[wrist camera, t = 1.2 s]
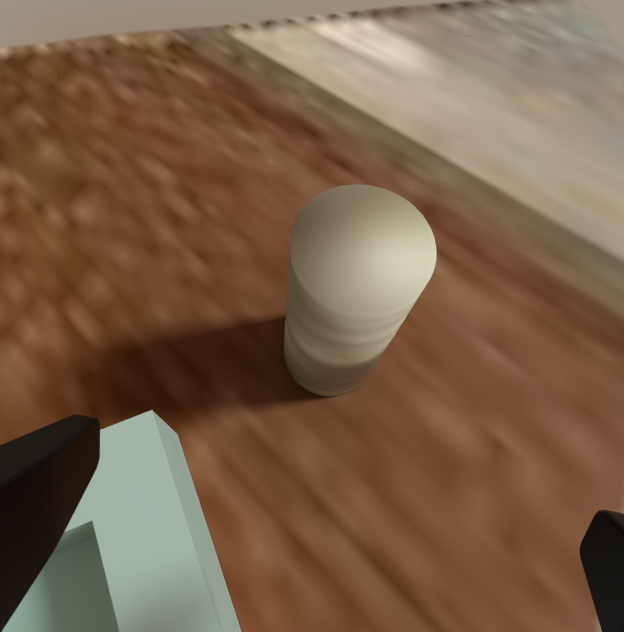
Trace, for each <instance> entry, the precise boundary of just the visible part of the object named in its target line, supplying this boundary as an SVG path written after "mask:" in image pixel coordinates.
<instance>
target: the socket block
mask: <svg viewBox="0 0 624 632" xmlns="http://www.w3.org/2000/svg"><path fill="white" fill-rule="evenodd" d="M2 632H241V629H240V626H239V623H238V620H237V617H236V614H235V610H234V607H233V604H232V601H231V598H230V595H229V592H228V589H227V586H226V583H225V580H224V576H223V573H222V570H221V567H220V564H219V561H218V558H217V555H216V552H215V549H214V546H213V542H212V539H211V536H210V533H209V530H208V527H207V524H206V521H205V518H204V515H203V512H202V509H201V505H200V502H199V499H198V496H197V493H196V490H195V487H194V484H193V481H192V478H191V475H190V471H189V468H188V465H187V462H186V459H185V456H184V453H183V450H182V447H181V444H180V441H179V437H178V434H177V433H176V432H175V431H174V430H172V429H171V428H170V427H169V426H168V425H167V424H166V423H165V422H164V421H163V420H162V419H161V418H160V417H159V416H158V415H157V414H156V413H155V412H154V411H152V410H150V411H148V412H145V413H143V414H140V415H138V416H135V417H132V418H130V419H127V420H125V421H122V422H119V423H117V424H114V425H112V426H109V427H106V428H104V429H101V430H100V459H99V463H98V466H97V469H96V471H95V473H94V475H93V477H92V479H91V481H90V483H89V485H88V487H87V489H86V491H85V493H84V495H83V497H82V499H81V501H80V502H79V504H78V506H77V508H76V510H75V512H74V514H73V516H72V518H71V520H70V522H69V524H68V526H67V528H66V530H65V532H64V534H63V536H62V537H61V539H60V541H59V543H58V545H57V547H56V548H55V550H54V552H53V553H52V555H51V557H50V558H49V560H48V561H47V563H46V565H45V566H44V568H43V569H42V571H41V572H40V574H39V575H38V577H37V578H36V580H35V581H34V583H33V585H32V586H31V588H30V589H29V591H28V592H27V594H26V595H25V597H24V598H23V600H22V601H21V603H20V605H19V606H18V608H17V609H16V611H15V612H14V614H13V615H12V617H11V618H10V620H9V621H8V623H7V624H6V626H5V628H4V629H3V631H2Z"/></svg>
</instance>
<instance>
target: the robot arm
mask: <svg viewBox="0 0 624 632" xmlns="http://www.w3.org/2000/svg"><path fill="white" fill-rule="evenodd" d="M99 459H100V423H99V420H98V419H97V418H94V417H89V416H83V415H72V416H70V417H67V418H65V419H62V420H60V421H58V422H55V423H53V424H50V425H48V426H45V427H43V428H41V429H38V430H36V431H33V432H31V433H29V434H26V435H24V436H21V437H19V438H17V439H14V440H12V441H9V442H7V443H4V444H2V445H0V632H2V631H3V629H4V628H5V626H6V624H7V623H8V621H9V620H10V618H11V617H12V615H13V614H14V612H15V611H16V609H17V608H18V606H19V605H20V603H21V601H22V600H23V598H24V597H25V595H26V594H27V592H28V591H29V589H30V588H31V586H32V585H33V583H34V581H35V580H36V578H37V577H38V575H39V574H40V572H41V571H42V569H43V568H44V566H45V565H46V563H47V561H48V560H49V558H50V557H51V555H52V553H53V552H54V550H55V548H56V547H57V545H58V543H59V541H60V539H61V537H62V536H63V534H64V532H65V530H66V528H67V526H68V524H69V522H70V520H71V518H72V516H73V514H74V512H75V510H76V508H77V506H78V504H79V502H80V501H81V499H82V497H83V495H84V493H85V491H86V489H87V487H88V485H89V483H90V481H91V479H92V477H93V475H94V473H95V471H96V469H97V466H98V463H99ZM580 557H581V561H582V565H583V568H584V572H585V575H586V578H587V582H588V585H589V589H590V592H591V595H592V599H593V602H594V606H595V609H596V612H597V616H598V619H599V623H600V626H601V629H602V632H624V514H623V513H619V512H613V511H607V510H600V511H598V512H597V513H596V514H595V516H594V517H593V520H592V522H591V524H590V526H589V528H588V530H587V532H586V534H585V536H584V538H583V540H582V542H581V545H580Z"/></svg>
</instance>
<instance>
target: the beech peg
mask: <svg viewBox="0 0 624 632" xmlns="http://www.w3.org/2000/svg"><path fill="white" fill-rule="evenodd" d="M435 263H436V244H435V239H434V236H433V233H432V230H431V228H430V226H429V224H428V223H427V221H426V220H425V218H424V217H423V215H422V214H421V213H420V212H419V211H418V210H417V209H416V208H415V207H414V206H413V205H412V204H411V203H410V202H408V201H407V200H405V199H404V198H403V197H401V196H399V195H397V194H395V193H393V192H391V191H388V190H386V189H383V188H379V187H375V186H370V185H361V184H355V185H344V186H339V187H335V188H332V189H329V190H326V191H324V192H322V193H320V194H318V195H317V196H315V197H314V198H313V199H311V200H310V201H309V202H308V203H307V204H306V205H305V206H304V207H303V208H302V209H301V211H300V212H299V214H298V215H297V217H296V219H295V221H294V224H293V227H292V231H291V237H290V252H289V269H288V286H287V303H286V320H285V337H284V360H285V364H286V367H287V369H288V371H289V373H290V375H291V376H292V378H293V379H294V380H295V381H296V382H297V383H298V384H299V385H300V386H301V387H303V388H304V389H306V390H307V391H309V392H311V393H314V394H317V395H321V396H329V397H333V396H340V395H344V394H347V393H350V392H352V391H354V390H355V389H357V388H358V387H359V386H360V385H361V384H363V382H364V381H365V380H366V379H367V377H368V376H369V374H370V373H371V371H372V369H373V368H374V366H375V365H376V363H377V362H378V360H379V358H380V357H381V355H382V354H383V352H384V351H385V349H386V347H387V346H388V344H389V343H390V341H391V340H392V338H393V336H394V335H395V333H396V332H397V330H398V329H399V327H400V325H401V324H402V322H403V321H404V319H405V318H406V316H407V314H408V313H409V311H410V310H411V308H412V306H413V305H414V303H415V302H416V300H417V299H418V297H419V295H420V294H421V292H422V291H423V289H424V288H425V286H426V284H427V283H428V281H429V280H430V278H431V276H432V273H433V271H434V267H435Z"/></svg>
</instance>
